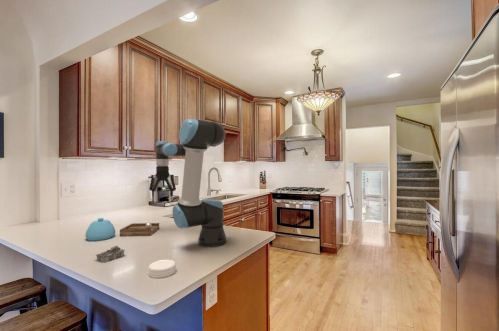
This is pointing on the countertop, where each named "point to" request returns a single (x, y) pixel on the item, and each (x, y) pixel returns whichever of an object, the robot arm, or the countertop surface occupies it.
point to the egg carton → (110, 254)
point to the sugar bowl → (100, 230)
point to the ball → (148, 225)
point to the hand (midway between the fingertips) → (162, 201)
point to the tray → (139, 229)
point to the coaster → (162, 268)
